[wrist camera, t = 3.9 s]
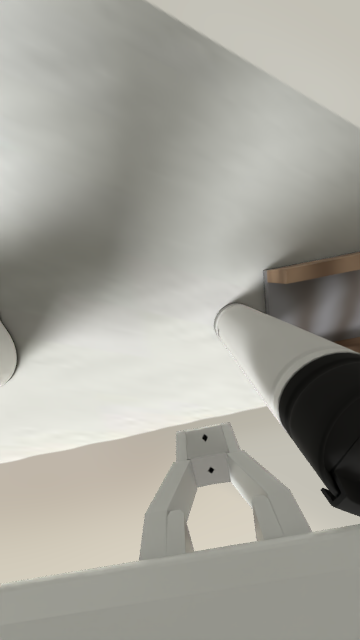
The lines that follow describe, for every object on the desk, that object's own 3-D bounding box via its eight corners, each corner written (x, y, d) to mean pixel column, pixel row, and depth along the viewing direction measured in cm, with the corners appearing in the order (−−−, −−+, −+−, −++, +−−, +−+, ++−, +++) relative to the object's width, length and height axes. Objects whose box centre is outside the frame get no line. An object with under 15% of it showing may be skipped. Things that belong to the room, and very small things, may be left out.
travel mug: (205, 334, 26) (288, 496, 7) (227, 295, 25) (406, 364, 6) (239, 351, 27) (398, 535, 8) (262, 314, 26) (523, 429, 7)
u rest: (269, 359, 28) (290, 378, 23) (263, 270, 24) (286, 269, 19) (407, 333, 27) (459, 346, 22) (421, 239, 24) (486, 229, 19)
